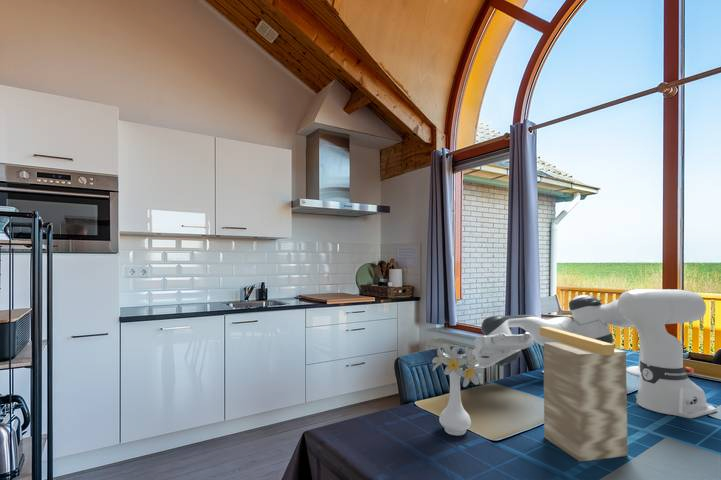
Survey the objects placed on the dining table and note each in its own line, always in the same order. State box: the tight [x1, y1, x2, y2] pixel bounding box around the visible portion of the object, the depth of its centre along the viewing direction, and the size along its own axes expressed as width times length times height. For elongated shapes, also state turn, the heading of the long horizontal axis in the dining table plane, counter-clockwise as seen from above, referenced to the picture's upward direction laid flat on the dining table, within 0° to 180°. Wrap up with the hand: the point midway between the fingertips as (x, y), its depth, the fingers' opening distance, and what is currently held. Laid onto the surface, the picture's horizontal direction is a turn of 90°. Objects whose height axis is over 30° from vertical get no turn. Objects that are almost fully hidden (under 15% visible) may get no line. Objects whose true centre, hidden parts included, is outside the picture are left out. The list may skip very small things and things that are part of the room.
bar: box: [540, 327, 615, 355], centre depth 109 cm, size 3×24×2 cm, turn 12°
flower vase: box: [431, 343, 485, 436], centre depth 113 cm, size 12×18×24 cm
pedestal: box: [543, 342, 629, 463], centre depth 105 cm, size 14×13×26 cm
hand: (516, 335), depth 134 cm, fingers open, 8 cm apart
